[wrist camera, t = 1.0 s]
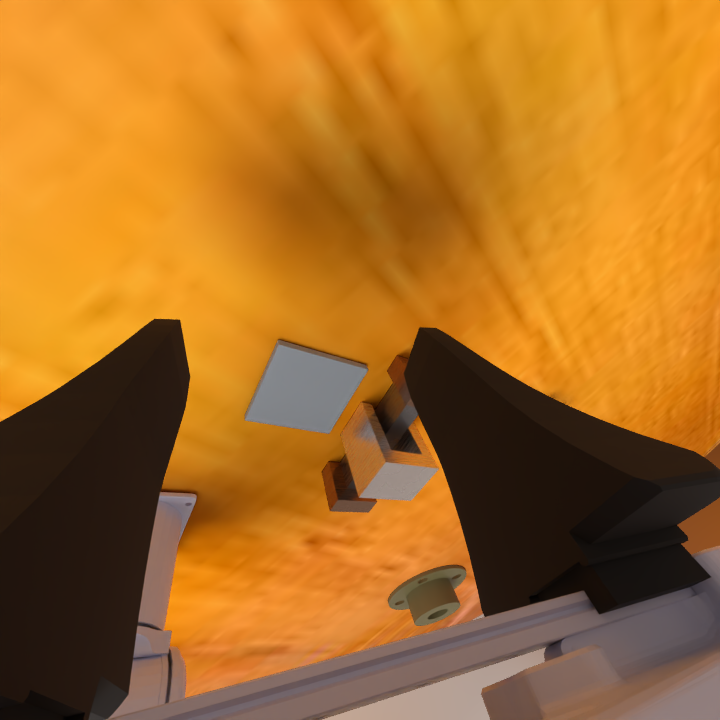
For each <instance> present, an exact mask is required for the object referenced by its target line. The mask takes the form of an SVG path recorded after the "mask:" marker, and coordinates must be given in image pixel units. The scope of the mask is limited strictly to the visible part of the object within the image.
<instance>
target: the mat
mask: <svg viewBox="0 0 720 720" xmlns="http://www.w3.org/2000/svg"><path fill="white" fill-rule="evenodd" d="M367 371H368V368H367V366H366V365H364V364H361V363H357V362H354V361H350V360H347V359H343V358H340V357H337V356H333V355H330V354H326V353H323V352H319V351H316V350H312V349H309V348H305V347H302V346H298V345H295V344H292V343H288V342H285V341H281V340H278V341H277V343H276V346H275V348H274V350H273V353H272V355H271V357H270V359H269V362H268V364H267V366H266V368H265V371H264V373H263V375H262V377H261V380H260V382H259V384H258V386H257V389H256V391H255V393H254V396H253V398H252V400H251V402H250V405H249V407H248V409H247V411H246V414H245V420H246V421H252V422H258V423H265V424H271V425H277V426H284V427H290V428H296V429H302V430H309V431H315V432H321V433H328V434H329V433H330V431H331V430H332V428H333V427H334V425H335V423H336V422H337V420H338V418H339V417H340V415H341V413H342V412H343V410H344V409H345V407H346V405H347V404H348V402H349V400H350V399H351V397H352V396H353V394H354V392H355V391H356V389H357V387H358V386H359V384H360V382H361V381H362V379H363V378H364V376H365V374H366V373H367Z"/></svg>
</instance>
